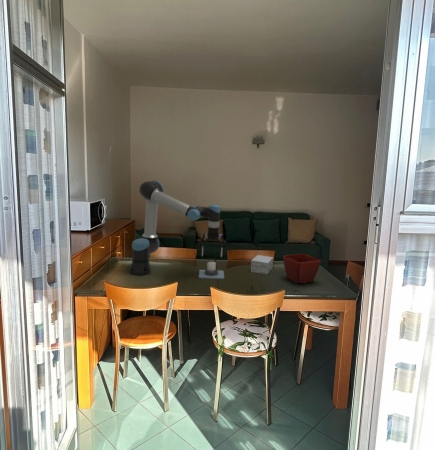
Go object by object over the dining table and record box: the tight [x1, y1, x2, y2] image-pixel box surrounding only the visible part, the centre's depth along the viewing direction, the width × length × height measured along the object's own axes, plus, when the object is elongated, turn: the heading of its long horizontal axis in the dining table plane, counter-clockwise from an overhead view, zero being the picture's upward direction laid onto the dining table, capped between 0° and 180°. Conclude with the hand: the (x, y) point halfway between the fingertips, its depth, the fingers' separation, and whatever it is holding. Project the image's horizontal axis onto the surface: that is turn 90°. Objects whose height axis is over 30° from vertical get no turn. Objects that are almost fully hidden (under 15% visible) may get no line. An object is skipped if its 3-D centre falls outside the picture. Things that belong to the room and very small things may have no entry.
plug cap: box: [206, 261, 217, 272], centre depth 242 cm, size 6×6×8 cm
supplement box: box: [250, 254, 274, 275], centre depth 259 cm, size 17×13×9 cm
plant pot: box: [282, 253, 322, 284], centre depth 239 cm, size 19×19×17 cm
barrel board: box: [197, 268, 225, 280], centre depth 243 cm, size 18×16×4 cm
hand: (211, 256), depth 240 cm, fingers open, 13 cm apart
